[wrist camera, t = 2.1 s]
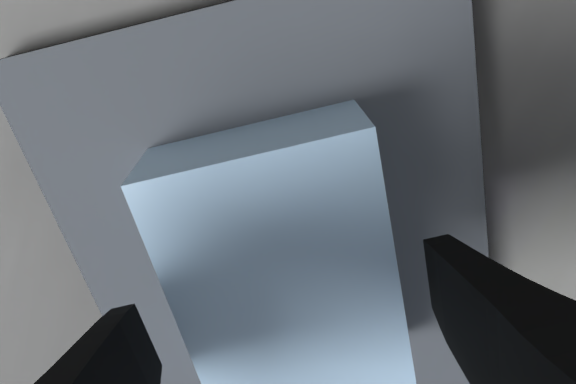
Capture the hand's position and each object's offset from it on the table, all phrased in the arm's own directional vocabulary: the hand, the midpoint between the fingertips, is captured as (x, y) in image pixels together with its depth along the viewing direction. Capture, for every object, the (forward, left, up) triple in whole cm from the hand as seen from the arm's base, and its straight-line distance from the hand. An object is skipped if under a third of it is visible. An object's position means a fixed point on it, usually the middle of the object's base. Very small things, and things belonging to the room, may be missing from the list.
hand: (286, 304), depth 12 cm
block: (0, 0, -3) cm, 3 cm away
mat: (0, 0, -4) cm, 4 cm away
